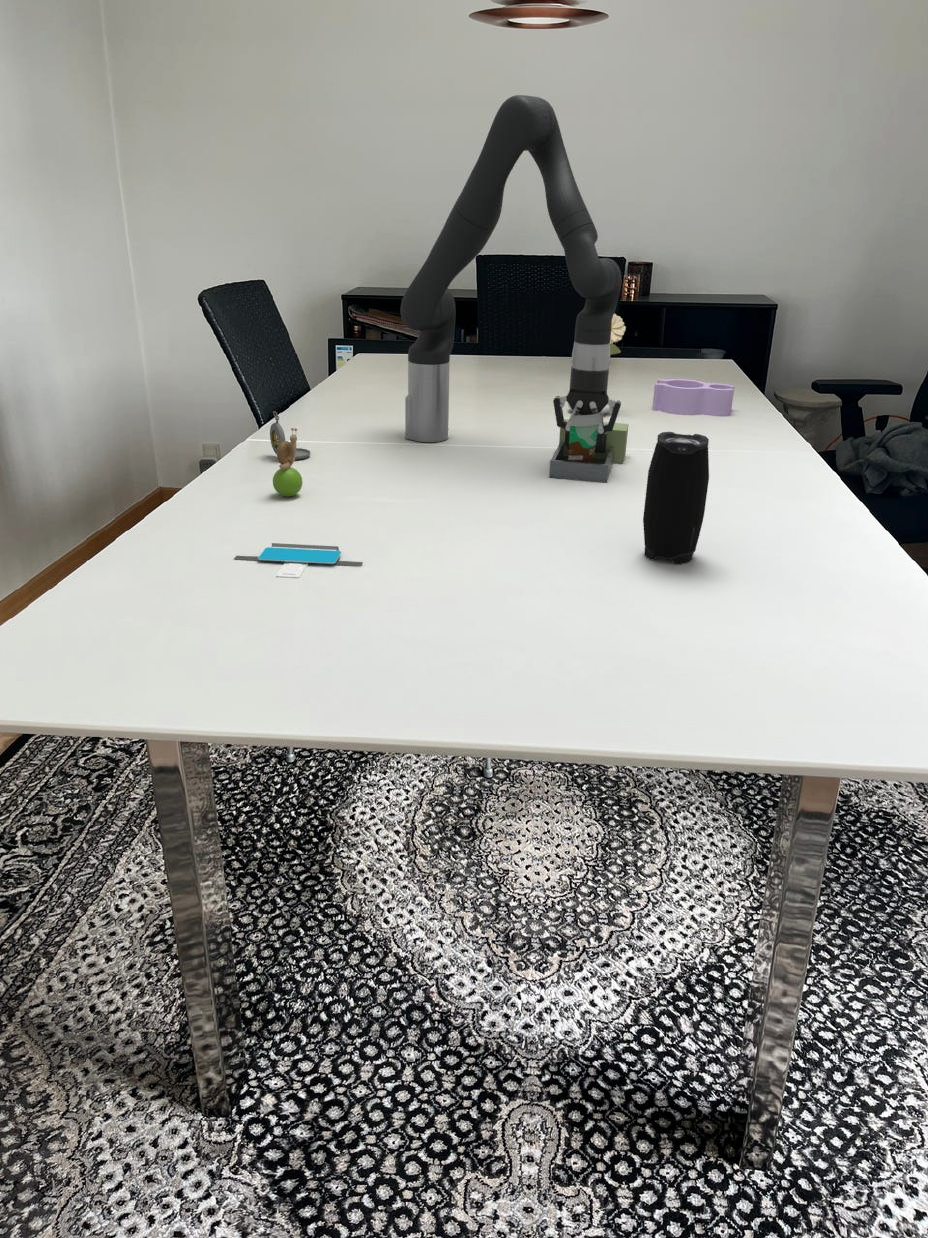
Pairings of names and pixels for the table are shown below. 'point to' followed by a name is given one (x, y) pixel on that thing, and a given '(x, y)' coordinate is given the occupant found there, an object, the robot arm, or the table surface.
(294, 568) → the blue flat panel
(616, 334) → the flower in vase
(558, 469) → the gray open tray
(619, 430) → the pale green rectangular block
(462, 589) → the table surface
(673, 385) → the purple double cup holder
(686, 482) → the portable speaker
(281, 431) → the pocket watch
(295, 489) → the snail figurine
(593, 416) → the food container
